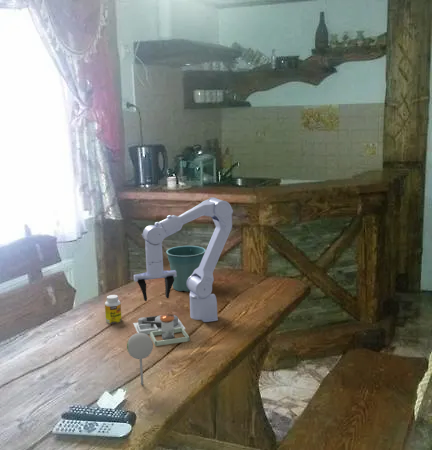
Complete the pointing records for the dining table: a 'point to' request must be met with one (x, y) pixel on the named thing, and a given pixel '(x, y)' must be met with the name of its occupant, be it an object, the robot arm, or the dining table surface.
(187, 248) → the flower pot
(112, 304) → the supplement bottle
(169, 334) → the pin
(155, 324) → the pulley board
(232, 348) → the dining table surface
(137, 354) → the lollipop
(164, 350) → the dining table surface
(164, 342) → the tray
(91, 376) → the dining table surface
